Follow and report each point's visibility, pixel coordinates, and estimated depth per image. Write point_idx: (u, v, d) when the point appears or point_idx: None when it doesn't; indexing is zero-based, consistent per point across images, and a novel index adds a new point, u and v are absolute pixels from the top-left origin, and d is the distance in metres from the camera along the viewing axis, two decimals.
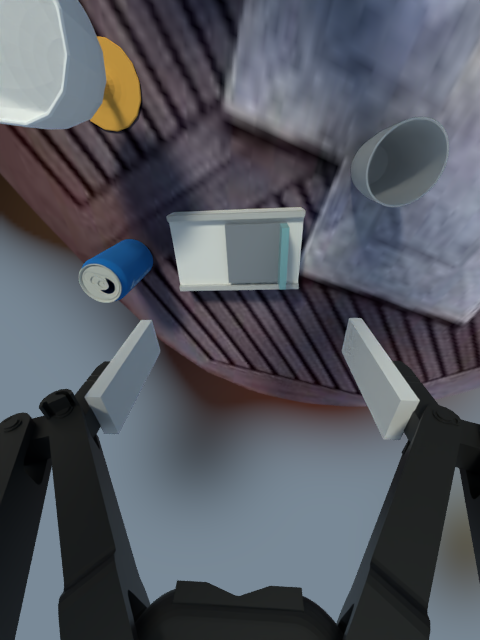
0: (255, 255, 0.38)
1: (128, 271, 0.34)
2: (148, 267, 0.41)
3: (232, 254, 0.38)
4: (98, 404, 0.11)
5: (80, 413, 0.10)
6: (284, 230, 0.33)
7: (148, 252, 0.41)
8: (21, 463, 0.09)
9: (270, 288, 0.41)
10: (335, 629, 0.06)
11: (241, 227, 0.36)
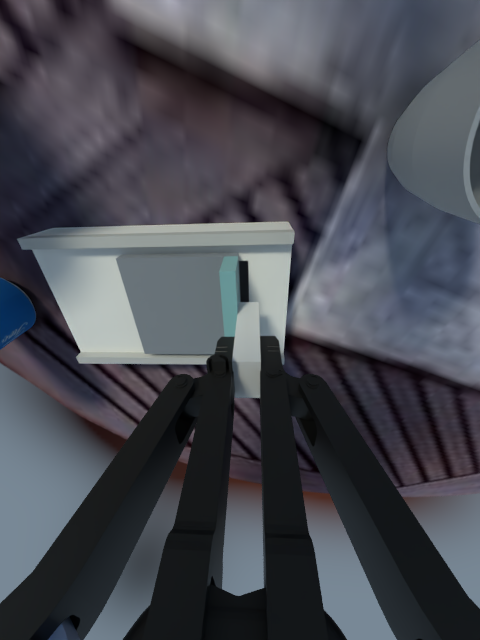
0: (184, 312, 0.20)
1: None
2: (18, 324, 0.23)
3: (142, 310, 0.20)
4: (241, 368, 0.13)
5: (230, 381, 0.12)
6: (225, 276, 0.15)
7: (19, 298, 0.23)
8: (175, 422, 0.10)
9: None
10: (260, 619, 0.06)
11: (149, 262, 0.18)
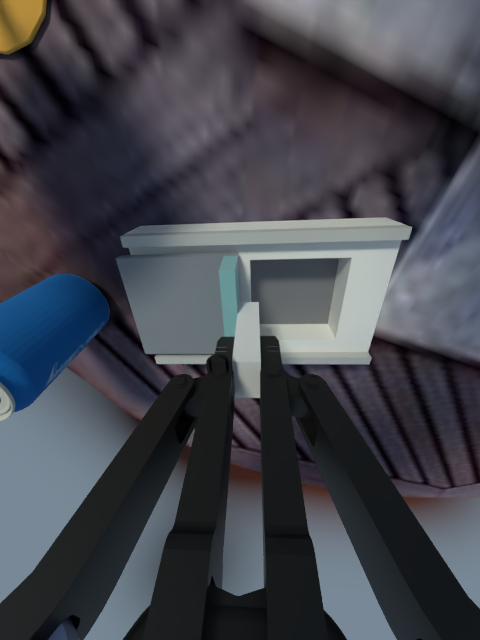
0: (184, 311, 0.20)
1: (33, 358, 0.16)
2: (98, 324, 0.23)
3: (142, 310, 0.20)
4: (241, 368, 0.13)
5: (229, 381, 0.12)
6: (224, 275, 0.15)
7: (98, 298, 0.23)
8: (175, 422, 0.10)
9: (318, 362, 0.23)
10: (260, 619, 0.06)
11: (149, 262, 0.18)
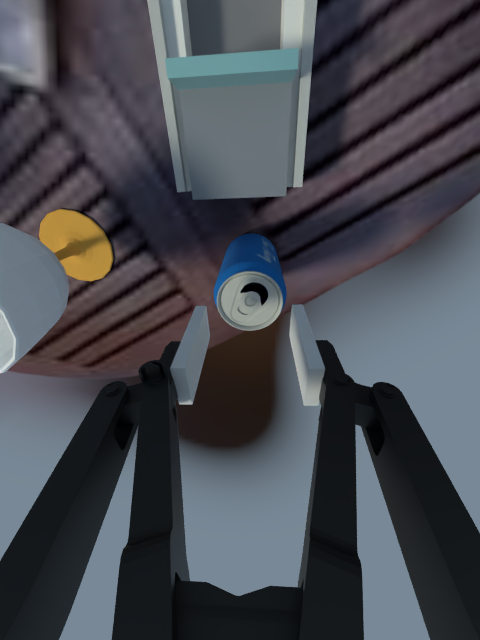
0: (237, 141, 0.21)
1: (240, 258, 0.21)
2: (259, 239, 0.27)
3: (236, 186, 0.23)
4: (181, 375, 0.13)
5: (167, 385, 0.12)
6: (171, 71, 0.17)
7: (241, 236, 0.28)
8: (112, 428, 0.10)
9: None
10: (292, 613, 0.06)
11: (193, 170, 0.23)
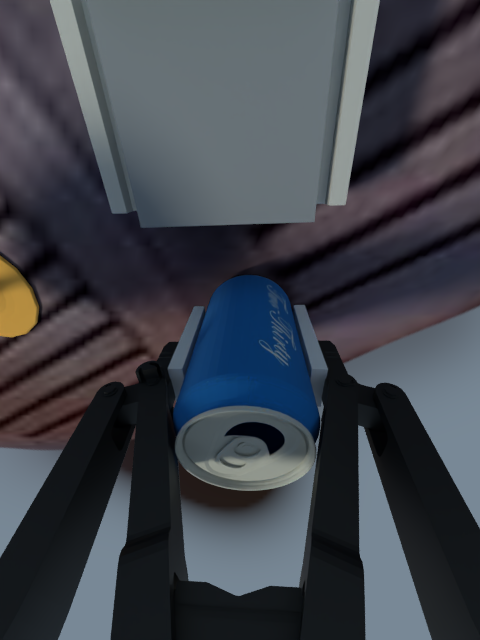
0: (219, 114, 0.10)
1: (224, 358, 0.10)
2: (263, 289, 0.16)
3: (221, 204, 0.12)
4: (178, 375, 0.13)
5: (164, 386, 0.12)
6: None
7: (233, 281, 0.17)
8: (110, 429, 0.10)
9: None
10: (294, 614, 0.06)
11: (135, 173, 0.12)
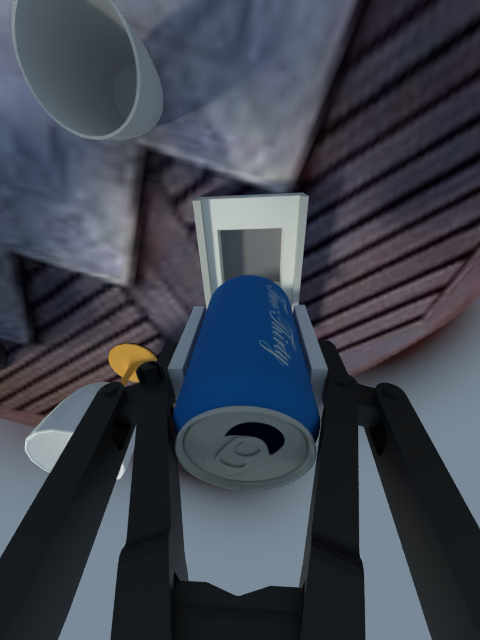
0: None
1: (224, 359, 0.10)
2: (263, 289, 0.16)
3: None
4: (178, 375, 0.13)
5: (164, 386, 0.12)
6: None
7: (233, 281, 0.17)
8: (110, 429, 0.10)
9: (302, 242, 0.27)
10: (294, 614, 0.06)
11: None
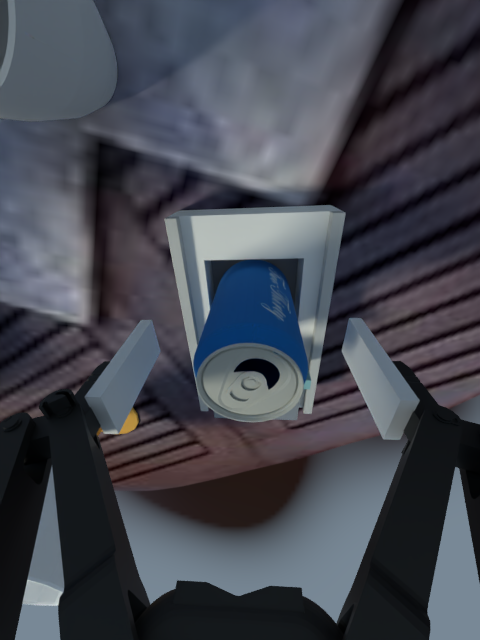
0: None
1: (234, 314, 0.13)
2: (265, 270, 0.19)
3: None
4: (98, 404, 0.11)
5: (80, 413, 0.10)
6: None
7: (240, 264, 0.20)
8: (21, 463, 0.09)
9: (331, 279, 0.18)
10: (335, 629, 0.06)
11: None
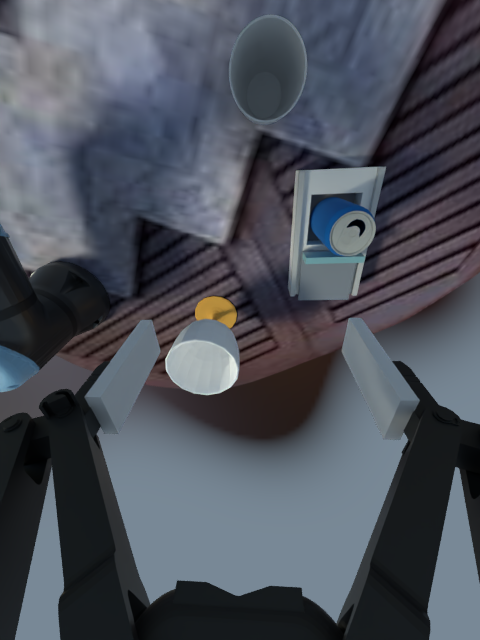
0: (326, 277, 0.43)
1: (344, 205, 0.32)
2: (342, 199, 0.37)
3: (322, 295, 0.45)
4: (98, 404, 0.11)
5: (80, 413, 0.10)
6: (307, 261, 0.39)
7: (326, 198, 0.39)
8: (21, 463, 0.09)
9: (376, 202, 0.37)
10: (335, 629, 0.06)
11: (301, 288, 0.45)
